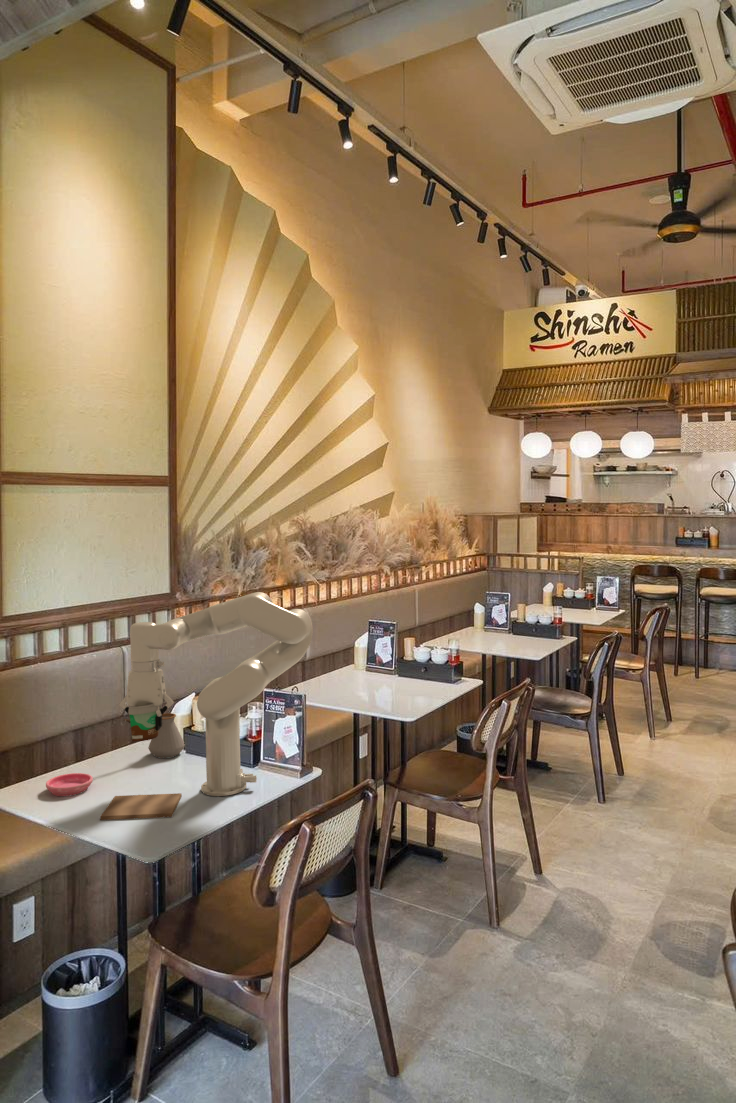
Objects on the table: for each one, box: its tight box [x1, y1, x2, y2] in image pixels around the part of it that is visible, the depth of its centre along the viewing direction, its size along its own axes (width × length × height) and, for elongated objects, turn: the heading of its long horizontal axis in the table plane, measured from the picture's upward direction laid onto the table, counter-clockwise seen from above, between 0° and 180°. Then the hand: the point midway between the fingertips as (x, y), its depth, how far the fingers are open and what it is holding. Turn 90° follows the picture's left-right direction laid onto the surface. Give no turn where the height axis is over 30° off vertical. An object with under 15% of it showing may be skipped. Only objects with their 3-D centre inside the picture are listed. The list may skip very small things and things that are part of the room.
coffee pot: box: [120, 712, 186, 759], centre depth 242 cm, size 21×12×15 cm, turn 138°
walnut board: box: [100, 792, 182, 821], centre depth 201 cm, size 18×14×1 cm
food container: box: [127, 704, 162, 743], centre depth 214 cm, size 12×6×10 cm, turn 168°
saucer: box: [45, 772, 94, 797], centre depth 215 cm, size 12×12×3 cm
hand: (147, 729), depth 214 cm, fingers closed on food container, 5 cm apart
